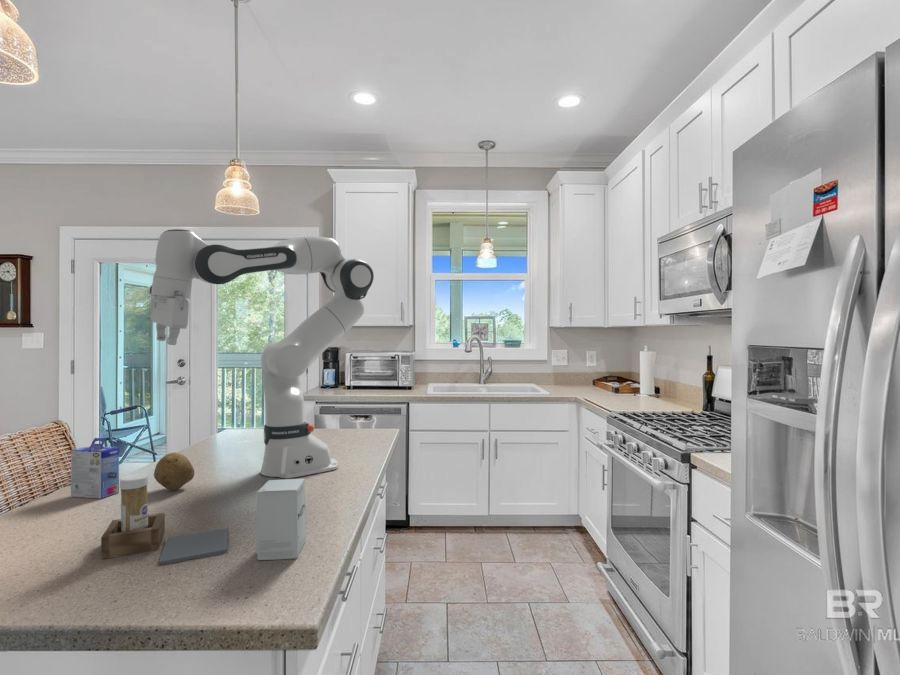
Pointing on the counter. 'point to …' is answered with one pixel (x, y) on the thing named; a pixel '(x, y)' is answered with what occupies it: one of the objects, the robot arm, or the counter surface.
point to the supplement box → (281, 519)
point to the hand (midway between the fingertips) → (166, 342)
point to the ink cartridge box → (95, 471)
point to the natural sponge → (173, 471)
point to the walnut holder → (133, 537)
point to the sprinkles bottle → (134, 502)
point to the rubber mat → (194, 546)
